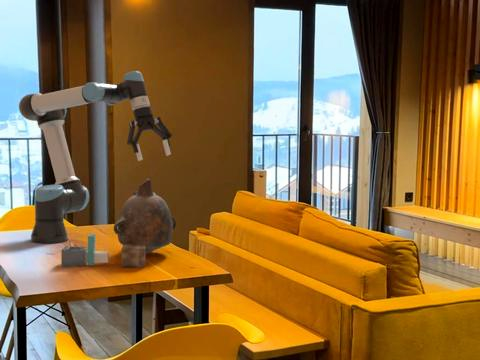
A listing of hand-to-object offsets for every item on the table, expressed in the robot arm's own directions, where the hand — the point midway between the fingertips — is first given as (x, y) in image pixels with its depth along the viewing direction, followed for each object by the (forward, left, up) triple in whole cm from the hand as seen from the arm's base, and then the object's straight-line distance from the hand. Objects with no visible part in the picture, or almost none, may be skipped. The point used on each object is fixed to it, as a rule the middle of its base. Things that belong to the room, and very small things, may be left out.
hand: (154, 157), depth 264 cm
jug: (-3, -16, -37) cm, 41 cm away
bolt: (-23, -35, -37) cm, 56 cm away
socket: (-6, -35, -37) cm, 52 cm away
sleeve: (-27, -35, -37) cm, 58 cm away
